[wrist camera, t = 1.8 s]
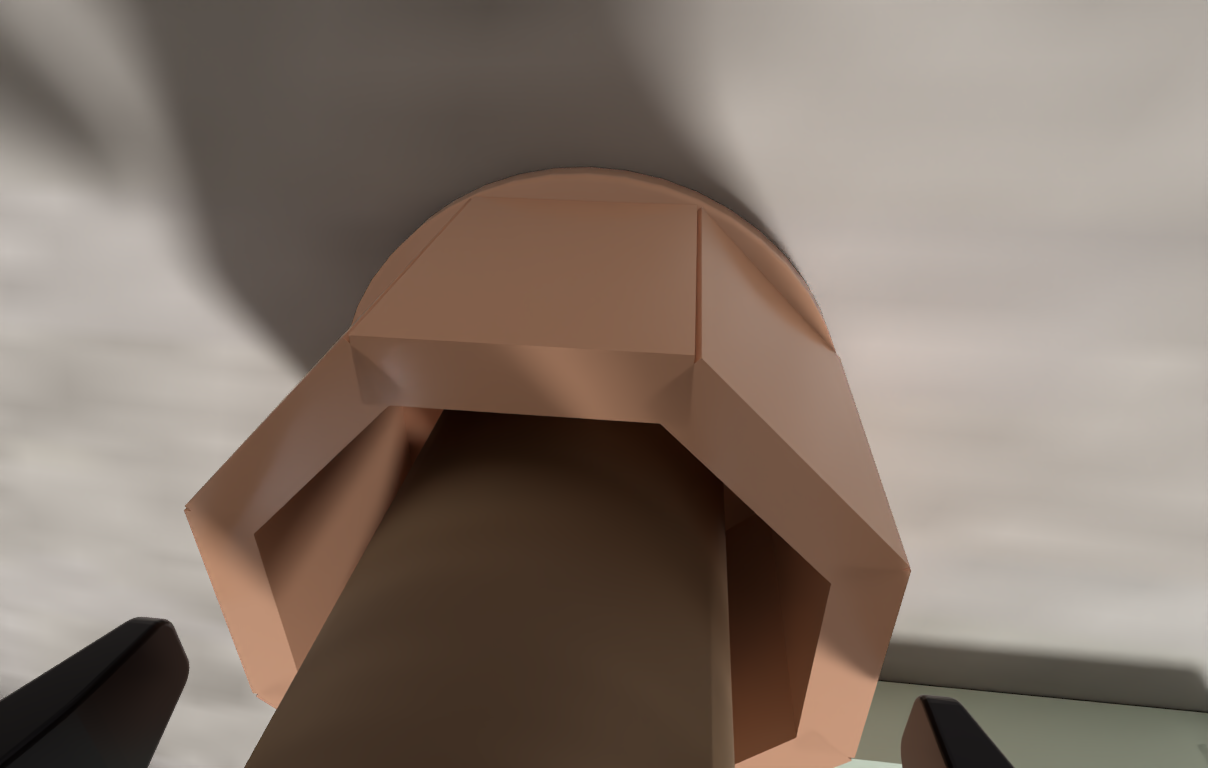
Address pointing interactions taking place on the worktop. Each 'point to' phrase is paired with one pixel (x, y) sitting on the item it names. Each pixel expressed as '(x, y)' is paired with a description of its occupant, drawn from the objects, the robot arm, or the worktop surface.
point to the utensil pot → (591, 391)
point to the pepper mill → (527, 610)
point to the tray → (1045, 730)
